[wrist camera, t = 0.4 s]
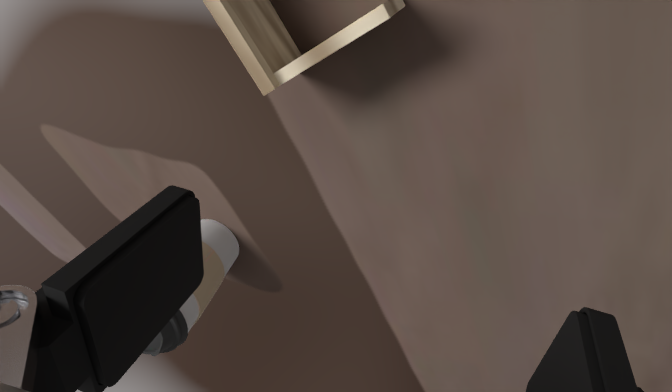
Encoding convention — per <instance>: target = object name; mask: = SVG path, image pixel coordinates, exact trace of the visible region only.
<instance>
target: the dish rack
mask: <svg viewBox="0 0 672 392" xmlns="http://www.w3.org/2000/svg"><path fill="white" fill-rule="evenodd" d="M203 2H204V3H205V5H206V6H207V8H208V9H209V11H210V13H211V14H212V16H213V17H214V19H215V20H216V22H217V24H218V25H219V27H220V28H221V30H222V31H223V33H224V34H225V36H226V37H227V39H228V41H229V42H230V44H231V45H232V47H233V48H234V50H235V52H236V53H237V55H238V56H239V58H240V59H241V61H242V63H243V64H244V66H245V67H246V69H247V70H248V72H249V74H250V75H251V77H252V78H253V80H254V81H255V83H256V85H257V86H258V87H259V89H260V91H261V92H262V94H263V95H266V94H267V93H269V92H271V91H272V90H274V89H276V88H277V87H278V86H280V85H281V84H283V83H285V82H286V81H288V80H290V79H291V78H293V77H295V76H296V75H298V74H299V73H301V72H303V71H304V70H306V69H308V68H309V67H311V66H312V65H314V64H316V63H317V62H319V61H321V60H322V59H324V58H326V57H327V56H329V55H330V54H332V53H334V52H335V51H337V50H339V49H340V48H342V47H344V46H345V45H347V44H348V43H350V42H352V41H353V40H355V39H357V38H358V37H360V36H361V35H363V34H365V33H366V32H368V31H370V30H371V29H373V28H375V27H376V26H378V25H379V24H381V23H383V22H384V21H386V20H388V19H389V18H391V17H392V16H393V15H395V14H396V13H397V12H398V11H400V10H401V9H402V8H404V7H405V4H404V2H403V0H388V1H387V2H385V3H383V4H382V5H380V6H379V7H377V8H376V9H374V10H372V11H371V12H369V13H368V14H366V15H365V16H363V17H361V18H360V19H358V20H357V21H355V22H354V23H352V24H350V25H349V26H347V27H346V28H344V29H343V30H341V31H339V32H338V33H336V34H335V35H333V36H332V37H330V38H328V39H327V40H325V41H324V42H322V43H321V44H319V45H317V46H316V47H314V48H313V49H311V50H310V51H308V52H307V53H305V54H303V55H301V53H300V51H299V50H298V48H297V46H296V45H295V43H294V41H293V40H292V38H291V36H290V34H289V33H288V31H287V29H286V28H285V26H284V24H283V23H282V21H281V19H280V18H279V16H278V14H277V12H276V11H275V9H274V7H273V6H272V4H271V2H270V1H269V0H203Z"/></svg>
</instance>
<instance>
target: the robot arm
mask: <svg viewBox="0 0 672 392" xmlns="http://www.w3.org/2000/svg"><path fill="white" fill-rule="evenodd" d="M203 276H204V266H203V250H202V235H201V219H200V204H199V200H198V199H197V198H195V194H194V193H193V192H192V191H190V190H187V189H183V188H180V187H176V186H169V187H167V188H166V189H164V190H163V191H162V192H160V193H159V194H158V195H156V196H155V197H154V198H153V199H151V200H150V201H149V202H147V203H146V204H145V205H143V206H142V207H141V208H140V209H138V210H137V211H136V212H134V213H133V214H132V215H130V216H129V217H128V218H126V219H125V220H124V221H123V222H121V223H120V224H119V225H118V226H116V227H115V228H114V229H112V230H111V231H109V232H108V233H107V234H106V235H104V236H103V237H102V238H100V239H99V240H98V241H96V242H95V243H94V244H93V245H91V246H90V247H89V248H87V249H86V250H85V251H83V252H82V253H81V254H79V255H78V256H77V257H76V258H74V259H73V260H72V261H70V262H69V263H68V264H66V265H65V266H64V267H62V268H61V269H60V270H59V271H57V272H56V273H55V274H53V275H52V276H51V277H49V278H48V279H47V280H46V281H44V282H43V283H42V284H41V285H42V288H41V289H39V290H38V291H37V292H35V293H34V292H33V290H31V289H29V288H27V287H25V286H19V285H7V286H0V392H75V391H76V390H77V389H78V390H80V391H82V392H103V391H104V389H105V388H106V387H107V386H108V387H111V386H113V385H115V384H116V383H117V382H118V381H119V380H120V378H121V377H122V376H123V375H124V374H125V372H126V371H127V370H128V369H129V368H130V367H131V365H132V364H133V363H134V362H135V361H136V360H137V358H138V357H139V356H140V355H141V354H142V353H143V351H144V350H145V349H146V348H147V347H148V345H149V344H150V343H151V342H152V341H153V340H154V338H155V337H156V336H157V335H158V334H159V333H160V331H161V330H162V329H163V328H164V327H165V325H166V324H167V323H168V322H169V321H170V320H171V318H172V317H173V316H174V315H175V314H176V313H177V311H178V310H179V309H180V308H181V307H182V305H183V304H184V303H185V302H186V301H187V300H188V298H189V297H190V296H191V295H192V294H193V293H194V291H195V290H196V289H197V288H198V287H199V285H200V284H201V282H202V279H203ZM526 392H644V391H643V390H642V389H641V388H639V387H637V386H636V383H635V379H634V376H633V373H632V370H631V366H630V363H629V360H628V357H627V353H626V350H625V347H624V343H623V340H622V337H621V334H620V330H619V327H618V324H617V321H616V319H615V317H614V316H613V315H610V314H607V313H604V312H600V311H597V310H594V309H590V308H587V307H584V308H582V309H581V310H580V311H579V312H577V311H572V312H571V313H570V314H569V315H568V317H567V319H566V320H565V322H564V324H563V325H562V327H561V329H560V330H559V332H558V334H557V335H556V337H555V339H554V340H553V342H552V344H551V345H550V347H549V349H548V350H547V352H546V354H545V355H544V357H543V359H542V360H541V362H540V364H539V365H538V367H537V369H536V370H535V372H534V374H533V375H532V377H531V379H530V380H529V382H528V385H527V389H526Z"/></svg>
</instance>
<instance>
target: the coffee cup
mask: <svg viewBox="0 0 672 392" xmlns="http://www.w3.org/2000/svg"><path fill="white" fill-rule="evenodd" d="M201 235H202V250H203V266H204V276H203V279H202V282H201V284H200V285H199V287H198V288H197V289H196V290H195V291H194V293H193V294H192V295H191V296H190V297H189V298H188V300H187V301H186V302H185V303H184V304H183V305H182V307H181V308H180V309H179V310H178V311H177V313H176V314H175V315H174V316H173V317H172V318H171V320H170V321H169V322H168V323H167V324H166V325H165V327H164V328H163V329H162V330H161V331H160V333H159V334H158V335H157V336H156V337H155V338H154V340H153V341H152V342H151V343H150V344H149V345H148V347H147V348H146V349H145V350H144V351H143V353H144V354H151V355H152V356H156V355H157V354H159V353H164V352H169V351H172V350H174V349H175V348H176V347H177V346H179V345H181V344H182V343H183V342H184V341H185V340H186V338H187V336H188V332H189V330H190V329H191V327H192V326H193V325H194V324H195V323H196V322H197V321H198V319H199V318H200V316H201V315H202V313H203V311H204V310H205V308H206V307H207V305H208V304H209V302H210V300H211V299H212V297H213V296H214V294H215V293H216V291H217V289H218V288H219V286H220V285H221V283H222V281H223V279H224V277H225V275H226V274H227V272H228V271H229V269H230V268H231V266H232V265H233V263H234V262H235V260H236V259H237V257H238V255H239V244H238V241H237V239H236V237H235V236H234V234H233V233H232V232H231V231H230V230H229V229H228V228H227V227H226V226H225V225H223V224H221V223H219V222H217V221H215V220H211V219H202V220H201Z"/></svg>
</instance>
